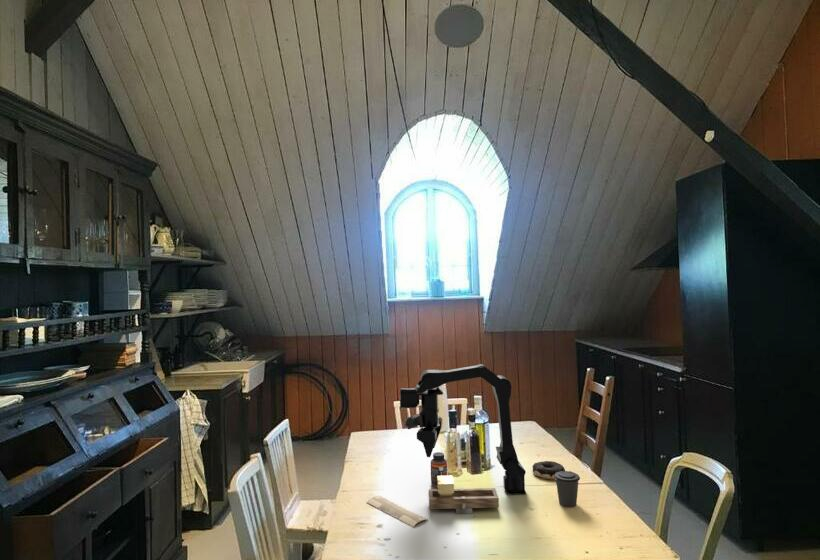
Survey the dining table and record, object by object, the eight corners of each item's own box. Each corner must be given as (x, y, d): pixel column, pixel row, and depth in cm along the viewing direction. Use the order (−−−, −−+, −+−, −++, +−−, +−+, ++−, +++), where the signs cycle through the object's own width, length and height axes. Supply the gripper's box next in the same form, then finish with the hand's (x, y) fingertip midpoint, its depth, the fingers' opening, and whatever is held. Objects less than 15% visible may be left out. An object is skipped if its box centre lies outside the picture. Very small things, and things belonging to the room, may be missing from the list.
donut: (559, 483, 181) (559, 472, 181) (527, 476, 188) (527, 466, 188) (568, 472, 191) (568, 462, 191) (538, 467, 197) (537, 456, 197)
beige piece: (428, 523, 156) (428, 517, 156) (411, 531, 151) (410, 525, 151) (380, 499, 174) (380, 494, 174) (364, 505, 169) (363, 500, 169)
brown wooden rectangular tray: (495, 500, 168) (494, 486, 168) (499, 513, 159) (498, 498, 159) (428, 502, 169) (428, 488, 169) (429, 514, 160) (429, 500, 160)
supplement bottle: (446, 489, 179) (445, 457, 179) (429, 488, 180) (428, 456, 180) (448, 482, 184) (447, 451, 184) (432, 481, 186) (431, 450, 186)
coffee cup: (581, 500, 167) (580, 469, 167) (580, 511, 159) (579, 479, 159) (555, 497, 170) (554, 467, 169) (554, 508, 162) (553, 476, 162)
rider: (452, 493, 167) (452, 475, 167) (454, 502, 161) (453, 483, 161) (437, 493, 167) (437, 475, 167) (438, 502, 161) (438, 484, 161)
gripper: (411, 400, 185) (413, 442, 186) (400, 413, 167) (402, 461, 167) (442, 400, 183) (443, 443, 183) (434, 414, 165) (435, 462, 165)
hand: (430, 452), depth 175 cm, fingers open, 9 cm apart
